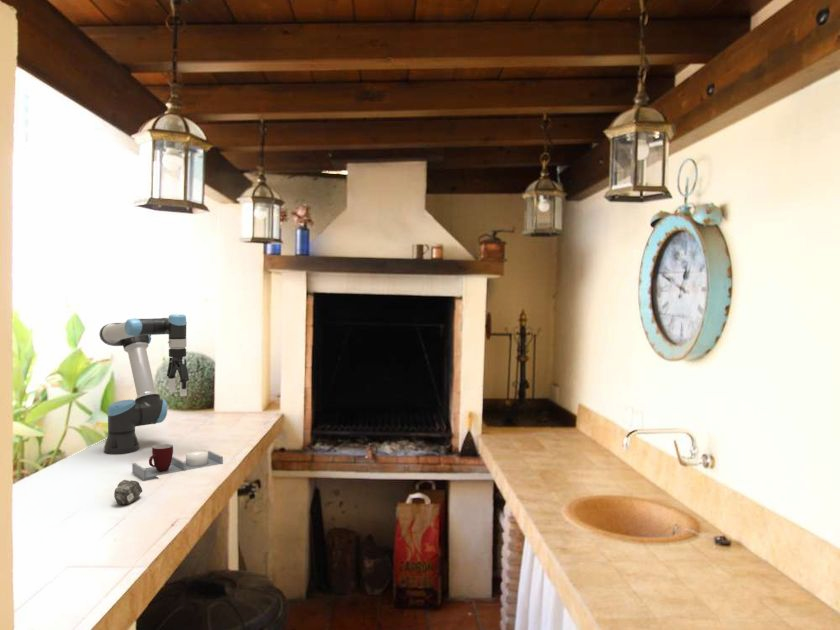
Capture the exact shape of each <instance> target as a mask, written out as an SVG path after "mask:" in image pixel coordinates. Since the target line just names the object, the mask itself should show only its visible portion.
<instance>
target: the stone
mask: <svg viewBox="0 0 840 630" xmlns="http://www.w3.org/2000/svg"><path fill="white" fill-rule="evenodd" d="M142 493H143V488H142V486H141V484H140V482H139V481H137V480H128V479H123V480H121V481H120V482H119V483H117V487H116V488H115V489H114V494H113V495H114V500H115V501H116V503H117V505H118V506H123V505H124V506H125V505H129V504H131V503H132V502H133V501H135V500H137V499H138V498H139V497H140V495H141V494H142Z"/></svg>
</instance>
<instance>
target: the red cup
mask: <svg viewBox="0 0 840 630" xmlns="http://www.w3.org/2000/svg"><path fill="white" fill-rule="evenodd" d="M151 454H152V455H151V456H150V457H149V459H148V465H149V466H150V467H156V469H157V471H160V472H162V471H167V470H168V469H169V467H170V465H171V461H172V457H173V455H174V445H173V444H169V443H167V444H166V443H165V444H164V443H163V444H157V445H152V449H151Z"/></svg>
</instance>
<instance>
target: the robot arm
mask: <svg viewBox="0 0 840 630" xmlns="http://www.w3.org/2000/svg"><path fill="white" fill-rule="evenodd" d="M98 334H99V338H100V340H101V341H102V342H103V344H106V345H108V346H112V347H123V351H124V352H126V353H127V355H128V359H129V365H130V368H131V373H132V378H133V383H134V387H135V388H134V389H135V392H136V398H135V399H123V400H117V401H115V402H113V403H110V404H109V405H108V406H107V438H106V440H105V443H104V446H103V452H104V453H105V454H109V455H123V454H129V453H133V452H136V451H138V450H140V443H139V440H138V437H137V435H136V428H137V427H141V426H142V427H143V426H149V425H156V424H160V423H162V422H164V421H165V420H166V417H167V414H168V403H167V400H166V399H164V398H161V395H160V394H159V393H157V392H156V387H155V383H154V379H153V374H152V368H151V364H150V361H149V356H148V351H147V349H148V347H149V345H150V344H151V342H152V336H157V335H158V336H159V335H168V341H167V344H168V347H169V348H168V357H169V359H168V360H169V361H168V366H167V372H166V377H167V378H168V393H170V394H171V393H176V377H177V376H176V374H177V372H178V377H179V379H180V380H179V397H187V395H188V393H187V391H188V388H187V387H188V386H187V385H188V384H187V383H188V381H190V377H189V372H188V366H187V360H186V359H183V358H185V357H187V316H186V315H185V314H177V313H176V314H170V315H169V316H168V317H160V318H156V317H155V318H130V319H127V320H126V321H125V322H113V323H107V324H105V325H103V326H102V327H101V328H100V330H99V333H98Z"/></svg>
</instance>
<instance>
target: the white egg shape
mask: <svg viewBox="0 0 840 630" xmlns="http://www.w3.org/2000/svg"><path fill="white" fill-rule="evenodd" d="M208 451H209V450H207V449H194V450H193V449H192V450H191V449H190V450H188V451H186V452H185V461H186V465H187V466H203V465H206V464H208Z"/></svg>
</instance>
